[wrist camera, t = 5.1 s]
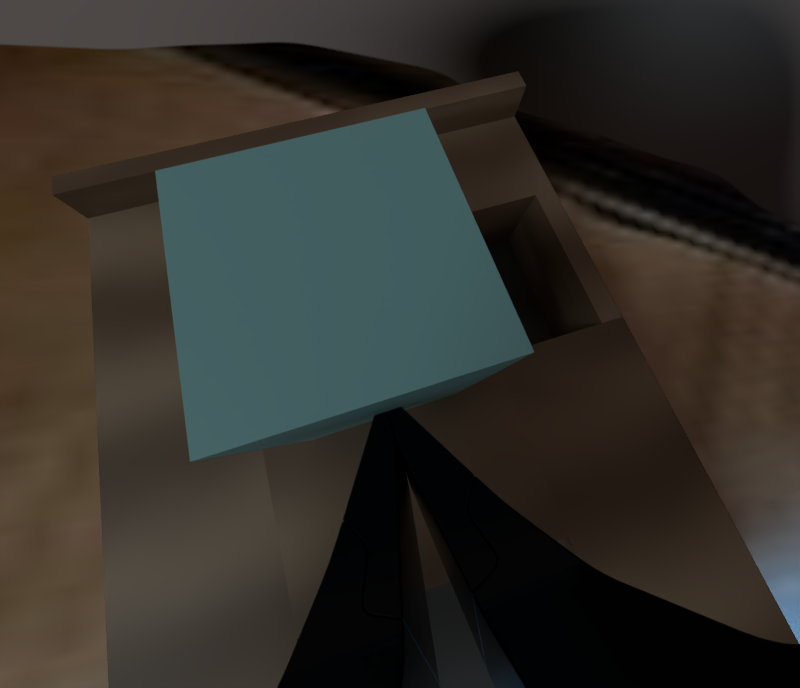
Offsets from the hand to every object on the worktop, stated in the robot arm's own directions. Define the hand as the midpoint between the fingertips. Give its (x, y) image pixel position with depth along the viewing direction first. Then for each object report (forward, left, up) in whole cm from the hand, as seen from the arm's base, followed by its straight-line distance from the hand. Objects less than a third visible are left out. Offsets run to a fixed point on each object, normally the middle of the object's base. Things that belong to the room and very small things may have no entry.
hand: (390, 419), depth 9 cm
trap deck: (+1, 0, -7) cm, 7 cm away
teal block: (+3, 0, -3) cm, 4 cm away
